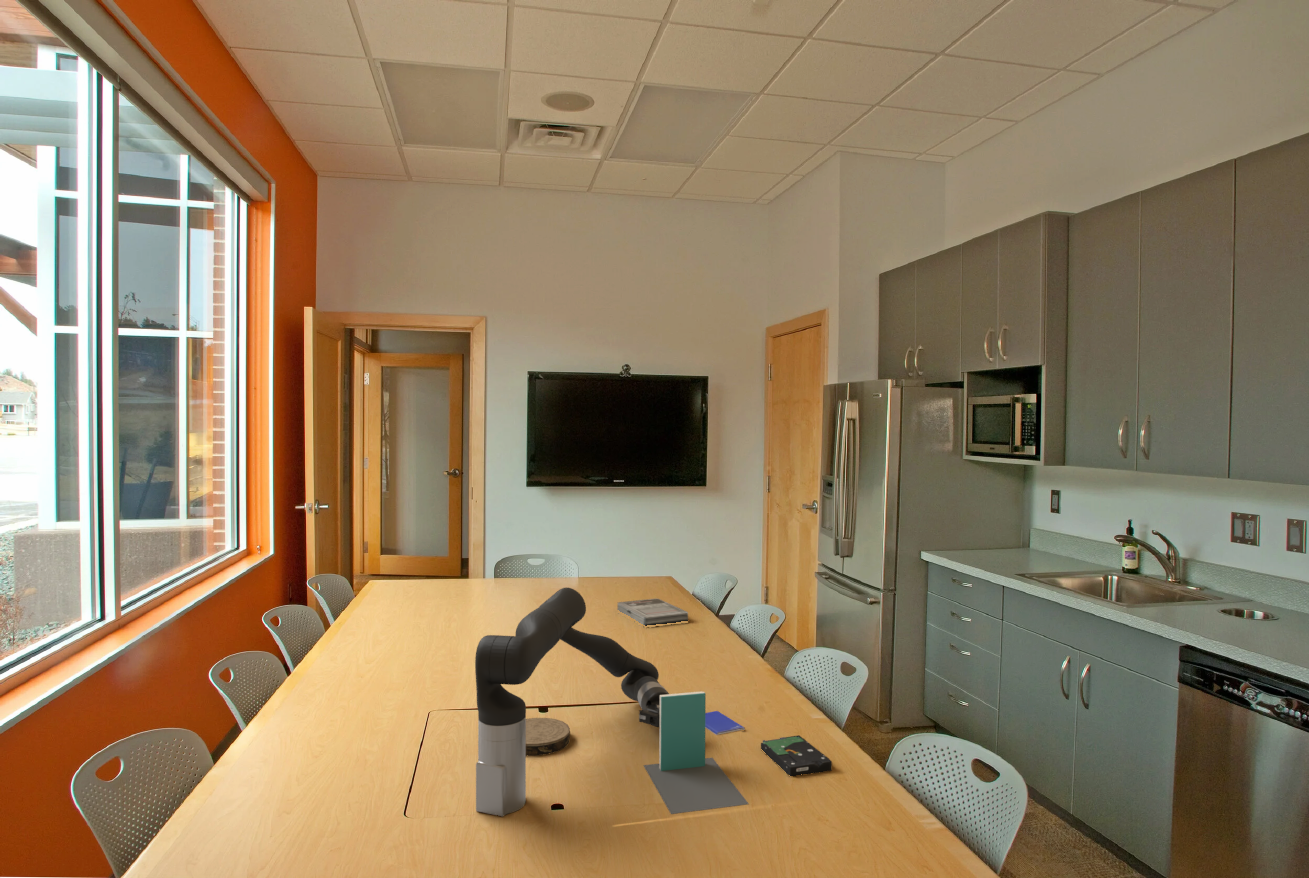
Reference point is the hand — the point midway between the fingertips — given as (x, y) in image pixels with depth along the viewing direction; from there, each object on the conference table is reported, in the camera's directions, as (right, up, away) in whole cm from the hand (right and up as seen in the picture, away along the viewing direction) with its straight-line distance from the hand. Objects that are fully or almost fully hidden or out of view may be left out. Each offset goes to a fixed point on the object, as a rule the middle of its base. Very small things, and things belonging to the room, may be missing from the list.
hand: (675, 727), depth 174 cm
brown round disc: (-33, -7, +9) cm, 35 cm away
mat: (+3, -7, -13) cm, 15 cm away
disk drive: (+27, -8, 0) cm, 28 cm away
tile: (+1, -7, -5) cm, 9 cm away
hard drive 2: (+11, -7, +20) cm, 24 cm away
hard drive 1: (-6, -5, +128) cm, 128 cm away
